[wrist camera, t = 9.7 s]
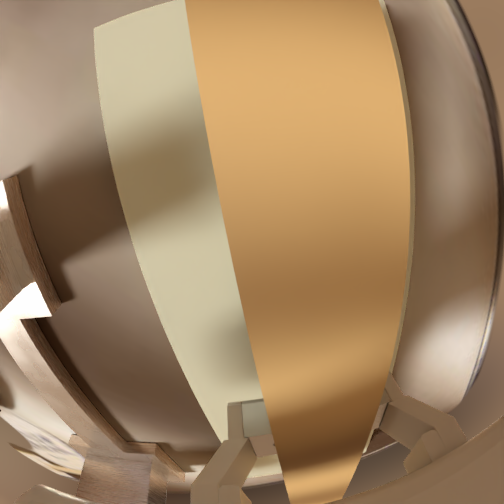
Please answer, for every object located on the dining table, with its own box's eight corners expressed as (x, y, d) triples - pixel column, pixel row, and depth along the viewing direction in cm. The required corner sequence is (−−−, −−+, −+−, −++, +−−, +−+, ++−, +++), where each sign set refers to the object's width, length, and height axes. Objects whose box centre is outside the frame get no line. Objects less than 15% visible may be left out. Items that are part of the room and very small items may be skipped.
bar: (193, 0, 5) (175, -66, 2) (308, -9, 5) (349, -67, 2) (288, 485, 15) (294, 517, 12) (328, 477, 15) (336, 508, 12)
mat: (102, 34, 6) (93, 28, 6) (373, 3, 6) (382, -4, 6) (243, 470, 17) (243, 478, 17) (362, 444, 17) (365, 452, 17)
